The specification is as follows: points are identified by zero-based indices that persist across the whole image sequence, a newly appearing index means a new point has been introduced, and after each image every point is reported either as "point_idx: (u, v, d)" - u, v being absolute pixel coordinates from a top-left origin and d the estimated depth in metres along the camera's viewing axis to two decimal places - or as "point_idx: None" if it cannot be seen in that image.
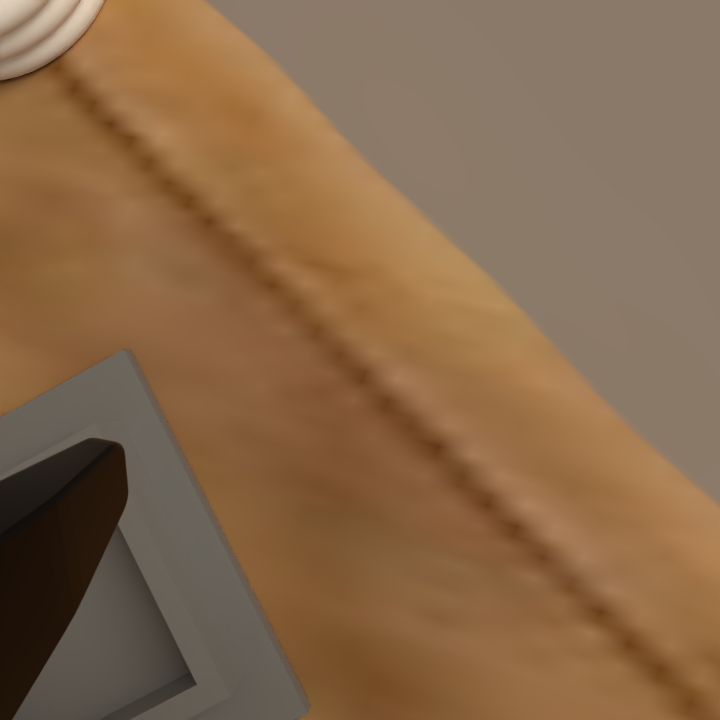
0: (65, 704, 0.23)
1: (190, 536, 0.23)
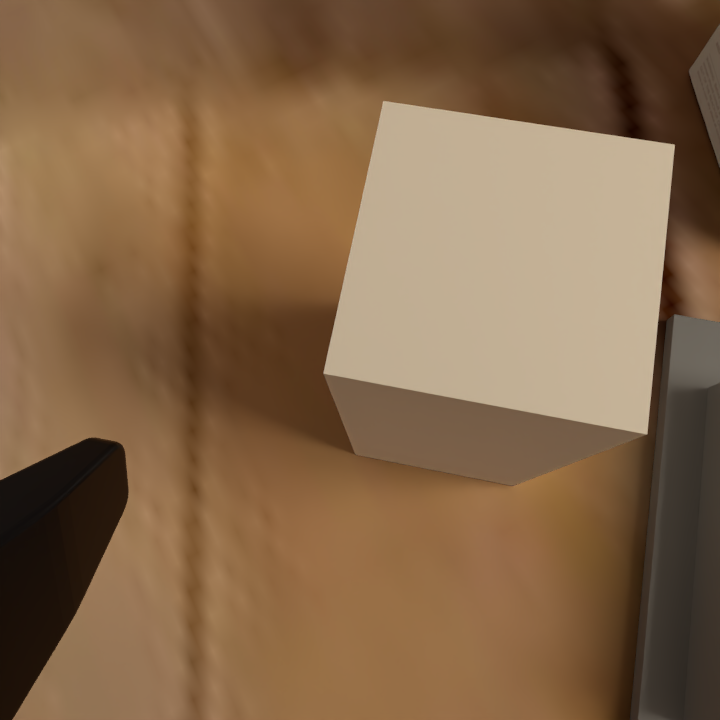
0: None
1: None
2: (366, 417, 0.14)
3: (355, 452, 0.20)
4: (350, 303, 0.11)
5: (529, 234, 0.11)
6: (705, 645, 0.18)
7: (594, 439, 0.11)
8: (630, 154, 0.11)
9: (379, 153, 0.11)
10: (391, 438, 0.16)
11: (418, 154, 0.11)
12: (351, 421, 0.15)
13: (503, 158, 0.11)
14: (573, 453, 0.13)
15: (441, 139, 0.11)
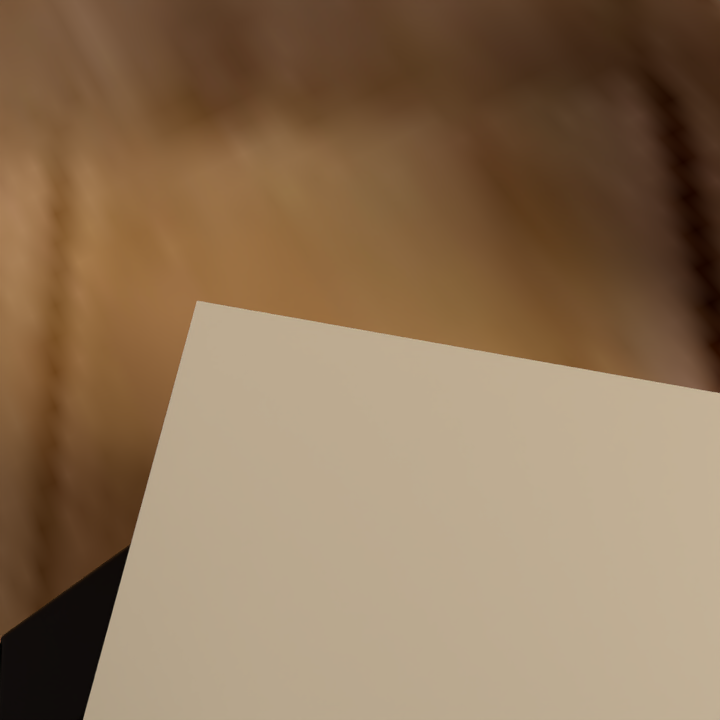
0: None
1: None
2: None
3: None
4: None
5: None
6: None
7: None
8: None
9: (176, 452, 0.04)
10: None
11: (279, 458, 0.04)
12: None
13: (508, 474, 0.04)
14: None
15: (342, 414, 0.04)
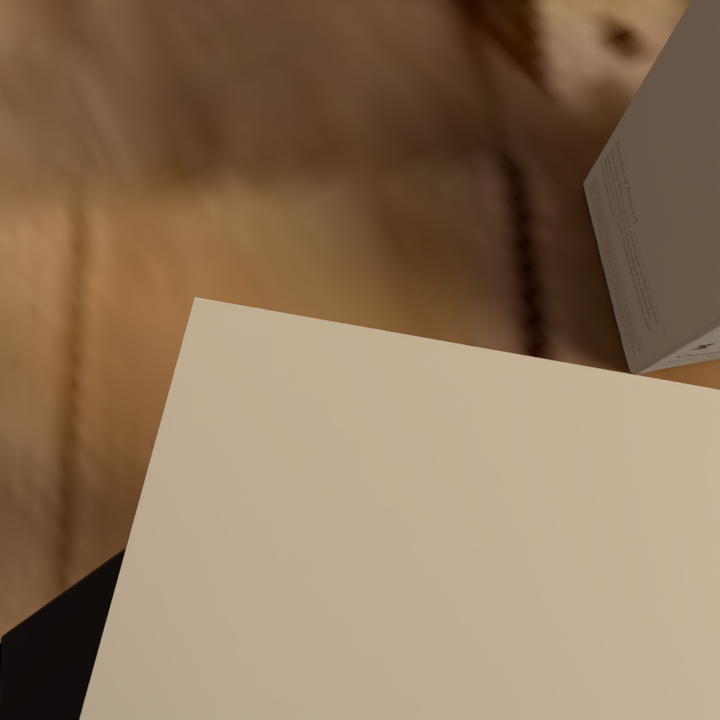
0: None
1: None
2: None
3: None
4: None
5: None
6: None
7: None
8: None
9: (174, 448, 0.04)
10: None
11: (276, 454, 0.04)
12: None
13: (506, 469, 0.04)
14: None
15: (339, 410, 0.04)
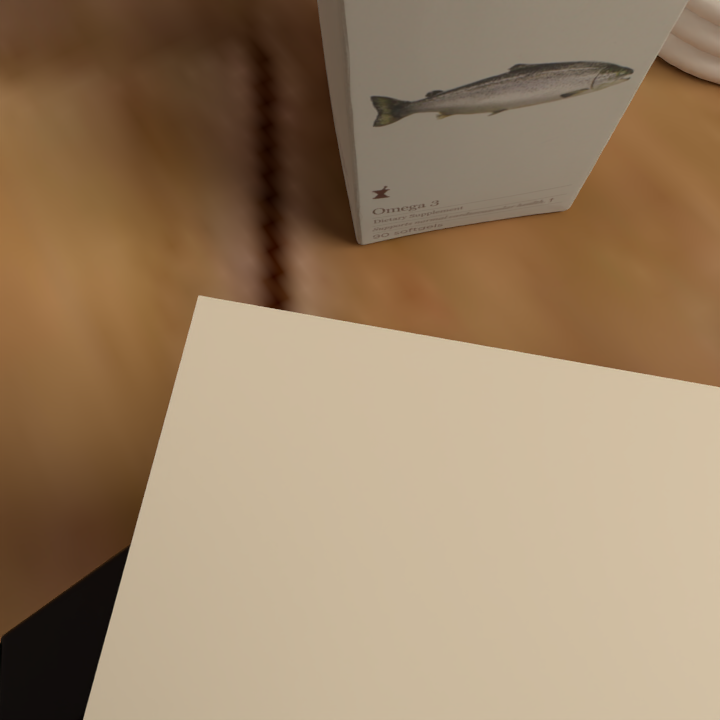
0: None
1: None
2: None
3: None
4: None
5: (586, 718, 0.04)
6: None
7: None
8: None
9: (178, 445, 0.04)
10: None
11: (280, 452, 0.04)
12: None
13: (509, 467, 0.04)
14: None
15: (343, 408, 0.04)
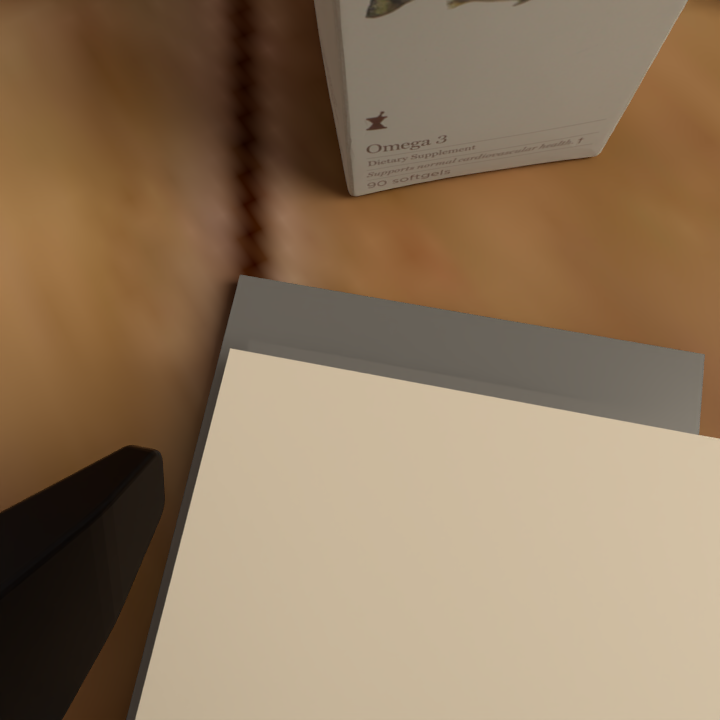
0: None
1: None
2: None
3: None
4: None
5: (537, 687, 0.05)
6: None
7: None
8: None
9: (215, 471, 0.05)
10: None
11: (297, 476, 0.05)
12: None
13: (478, 490, 0.05)
14: None
15: (347, 441, 0.05)
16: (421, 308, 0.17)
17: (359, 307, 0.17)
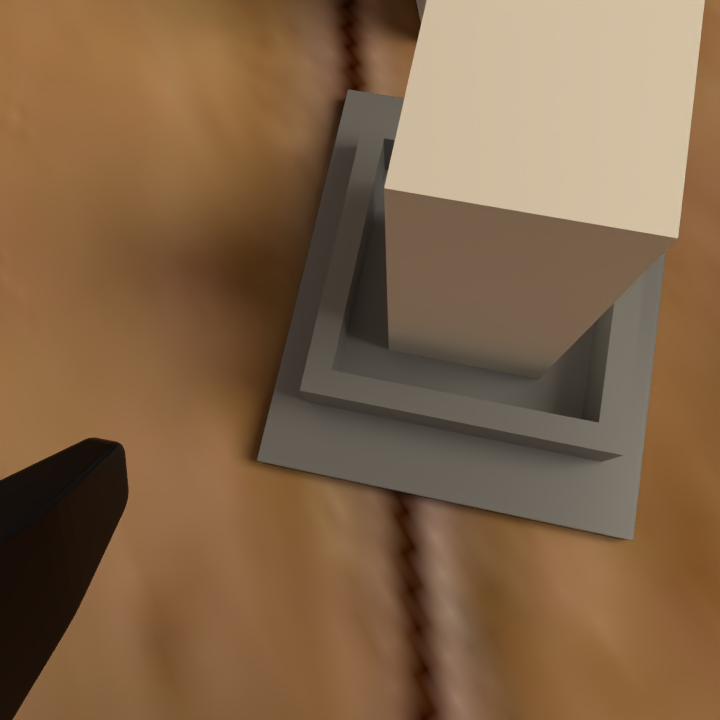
0: (416, 369, 0.22)
1: None
2: (412, 268, 0.15)
3: (389, 344, 0.22)
4: (408, 128, 0.12)
5: (571, 69, 0.12)
6: None
7: (627, 260, 0.12)
8: None
9: (433, 0, 0.12)
10: (430, 305, 0.17)
11: (469, 0, 0.12)
12: (396, 279, 0.16)
13: (547, 3, 0.12)
14: (604, 294, 0.14)
15: None
16: None
17: None
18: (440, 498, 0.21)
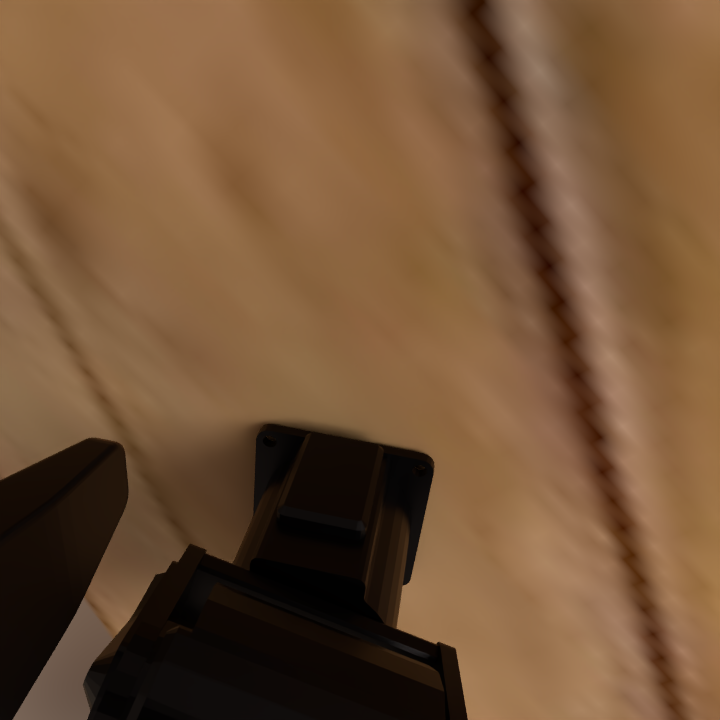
0: None
1: None
2: None
3: None
4: None
5: None
6: None
7: None
8: None
9: None
10: None
11: None
12: None
13: None
14: None
15: None
16: None
17: None
18: None
